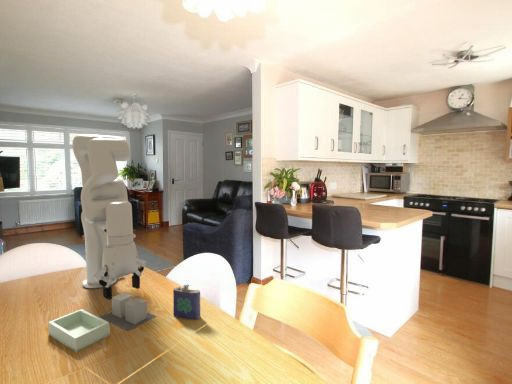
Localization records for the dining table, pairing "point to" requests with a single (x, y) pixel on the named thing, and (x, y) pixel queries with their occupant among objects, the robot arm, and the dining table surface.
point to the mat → (123, 323)
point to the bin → (78, 329)
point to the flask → (186, 303)
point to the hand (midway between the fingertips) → (122, 293)
